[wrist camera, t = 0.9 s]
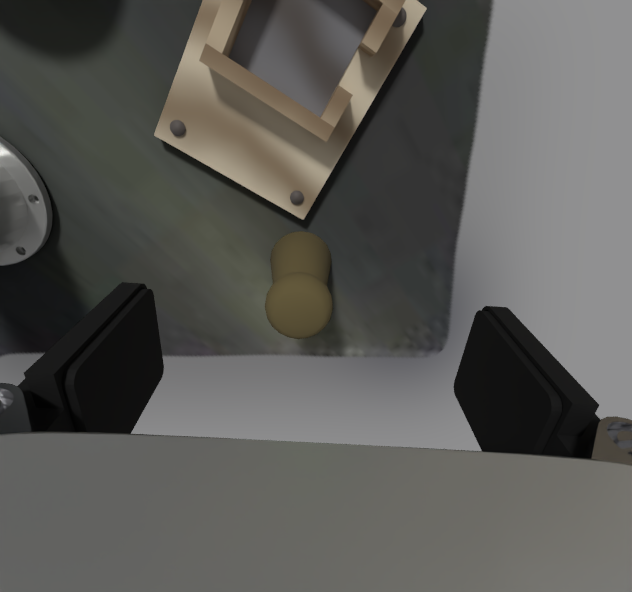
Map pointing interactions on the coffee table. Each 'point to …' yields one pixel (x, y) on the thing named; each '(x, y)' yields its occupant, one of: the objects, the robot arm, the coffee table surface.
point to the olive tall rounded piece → (299, 286)
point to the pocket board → (282, 88)
